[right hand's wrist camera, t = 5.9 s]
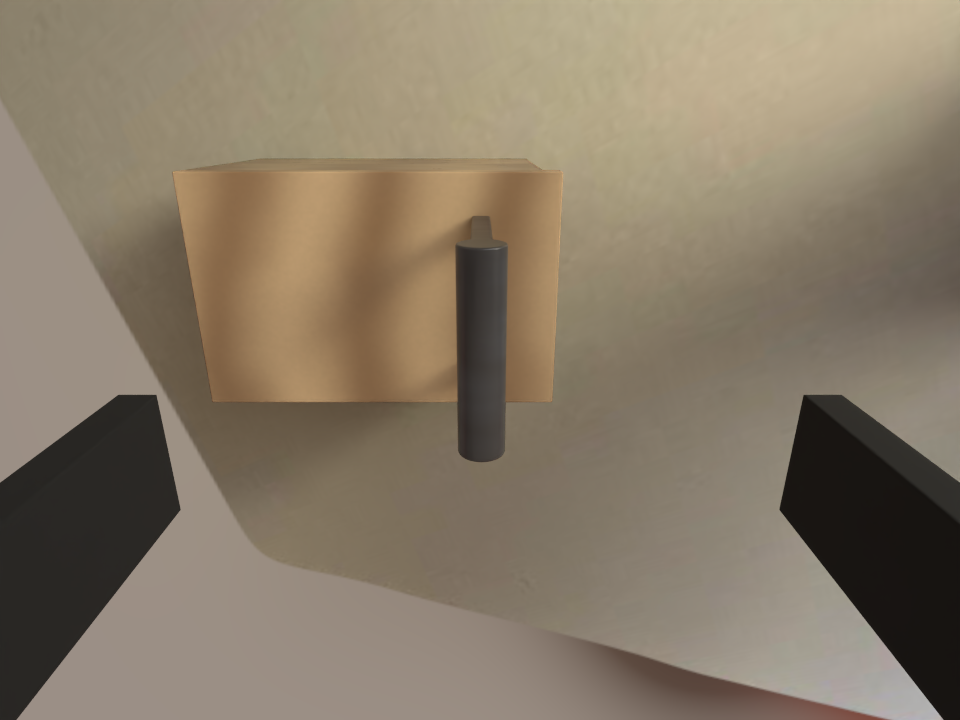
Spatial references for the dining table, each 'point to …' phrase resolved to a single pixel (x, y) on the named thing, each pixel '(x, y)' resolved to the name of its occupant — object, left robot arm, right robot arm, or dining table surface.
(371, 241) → the lid
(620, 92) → the dining table surface
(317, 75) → the dining table surface
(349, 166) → the chest
